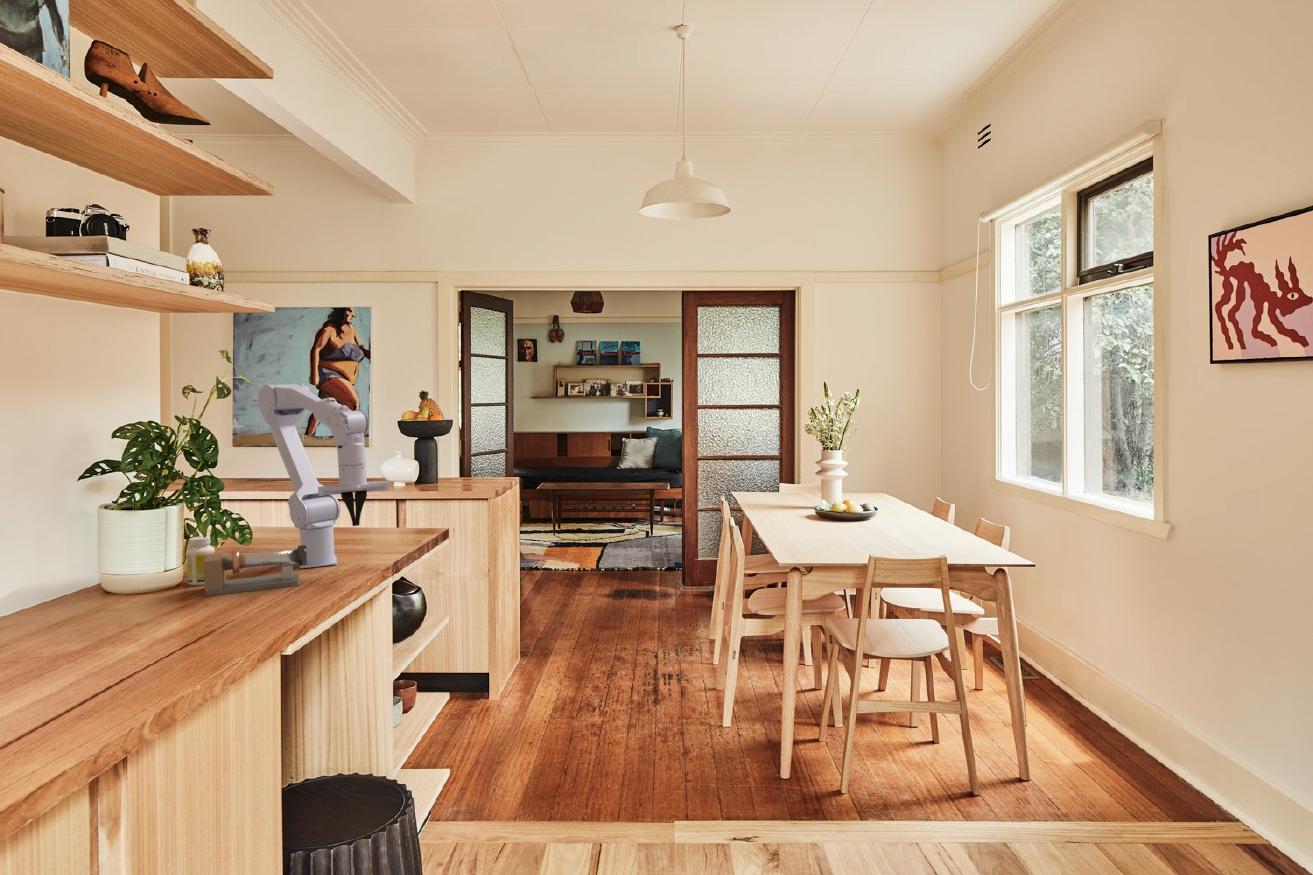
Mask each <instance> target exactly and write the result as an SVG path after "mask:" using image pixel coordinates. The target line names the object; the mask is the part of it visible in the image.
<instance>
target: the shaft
mask: <svg viewBox="0 0 1313 875" xmlns="http://www.w3.org/2000/svg"><path fill="white" fill-rule="evenodd" d="M223 563H224V570H226V571H232V574H233V575H240V574H241V573H242V572H241V570H243V569H254V568H263V567H273V566H282V565H284V564H298V567H299V566H305V565H307V551H306V545H300V544H299V545H297V548H293V549H283V550H273V551H261V552H251V553H243V554H241V551H240V549H233V550H231V555H225V556H224V559H223Z"/></svg>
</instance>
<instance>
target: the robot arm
mask: <svg viewBox="0 0 1313 875" xmlns="http://www.w3.org/2000/svg"><path fill="white" fill-rule="evenodd" d="M257 404H258V407H259V409H260V412H261V415H262V417H263V419H264V422H265V423H266V424H267V425H268V426H269V430H270V432H271V434H272V437H273V440H274V442H275V444H276V447H277V449H278V452H279V454H280V457H281V460H282V462H283V464H284V467H285V469H286V471H287V475H288V478H289V479H290V482H291V484H292V487H293V489H294V491H293V492H292V494H291V495H290V497H288V500H287V505H288V509H289V516H290V520H291V523H293V525H294V526H295V527H296V529H299V541H300V542H299V545H306V551H307V565H305V566H299V565H298V567H299V569H305V568H315V567H316V568H317V567H324V566H325V567H326V566H335V565H338V559H337V554H335V540H334V525H336V521H337V520H338V519H339V517H340V514H341V504H340V501H339V500H338V499H337V497H336V496H335V495H340V497H341V499H342V501H343V502H344V505H345V507H346V508H347V510H348V514H349V515H350V518H351V524H352V527H357V526H360V523H361V521H360V520H361V515H362V510H363V508H364V504H365V501H366V499H367V497H368V493H370V492H380V491H383V492H386V491H387V492H388V491H389V482H388V481H385V480H384V481H369V482H368V481H367V477H368V476H367V465H366V448H365V447H366V446H365V435H366V434H367V433H368V432H369V428H370V421H369V417H368V416H367V413H365V411H363V410H362V409H356V410H351V409H350V408H349V406H347V405H343V404H341V403H338V402H337V399H335V397H327V398H320V397H318V396H317V395H316V394H314V393H313V392H311V391H310V389H309V386H308V385H304V384H303V383H295V384H294V383H291V384H290V383H288V384H287V383H285V384H270V383H266V384H263V385H262V386H261V387H260V388H259V391H258V397H257ZM305 411H308V412H310V413H311V414H313V418H314V419H315V421H317V422H319V423H321V424H323V425H324V426H326V427H328V428H329V430H330V432H331V434H332V436H333V443H334V445H335V446H336V450H337V464H338V465H337V466H338V467H337V468H338V479H339V480H338V482H339V484H332V485H323V484H321V483H320V482H319V481H318V479H317V477H316V475H315V472H314V469H313V467H312V464H311V461H310V460H309V457H308V454H307V453H306V450H305V448H304V444H303V443H302V439H301V437H300V436H299V433H298V430H297V428H296V424H297V423H299V422H301V421H302V419H303V416H304V415H305V414H304V413H305Z"/></svg>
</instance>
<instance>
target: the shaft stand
mask: <svg viewBox="0 0 1313 875" xmlns="http://www.w3.org/2000/svg"><path fill="white" fill-rule="evenodd" d="M224 556H226V554H225V552H218V553H217V552H215V553H214V554H208V555H207V557H206V558H205V560H204V562H203V565H204V580H205V585H204V593H205V597H209V596H217V595H218V596H219V595H226V594H227V595H228V594H237V593H245V592H254V591H262V590H270V589H279V588H281V589H282V588H288V587H298V586H299V580H300V574H299V572H294V569H293V567H294V566H293V564H294V563H293V564H283V565H281V574H275V575H264V576H255V577H247V578H246V577H244V578H235V579H227V572H226V571H227V570H224V563H223V559H224Z"/></svg>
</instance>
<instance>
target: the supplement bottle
mask: <svg viewBox="0 0 1313 875" xmlns="http://www.w3.org/2000/svg"><path fill="white" fill-rule="evenodd" d="M203 536H204V535H202V537H201V536H193V537H190V538H189V539H188V545H189V546H190V548H188V549H187V550H186V552H185V553H186V554H185V555H186V571H187V582H188V585H190V586H203V585H204V586H205V580H204V565H203V562H204V560H205V558H206V557H207V555H208V554H214V553H216V550H215V548H214V547H213V546H212V545H211V543H212V542H211V536H208V535H205V536H206V537H205V538H204V537H203Z"/></svg>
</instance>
